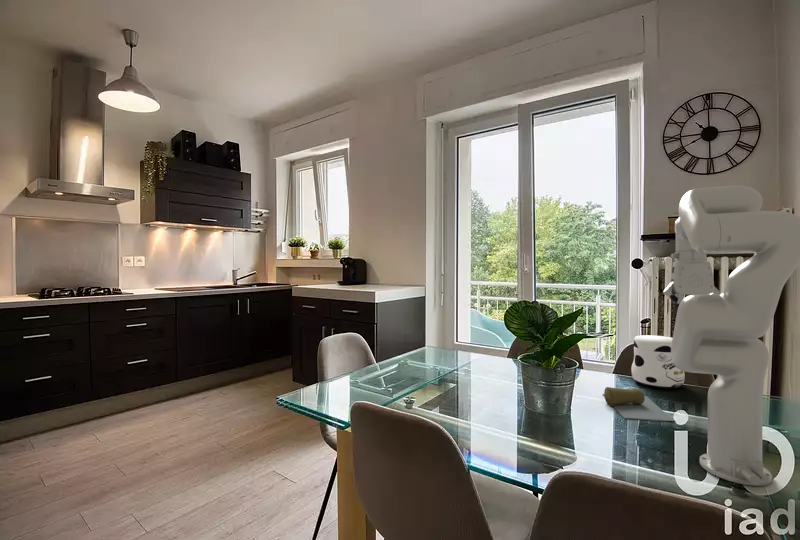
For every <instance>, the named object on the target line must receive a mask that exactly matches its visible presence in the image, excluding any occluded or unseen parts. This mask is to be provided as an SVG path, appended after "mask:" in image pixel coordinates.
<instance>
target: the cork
mask: <svg viewBox="0 0 800 540" xmlns="http://www.w3.org/2000/svg"><path fill="white" fill-rule="evenodd" d="M603 392H604V393H603V394H604V396H605V397H604V396H603V397H604V400H605V403H606V405H607V406H609V407H613V405H621V404H628V403H634V404H637V405H640V404H642V403H643V402H644V399H645V397H644V396H645V393H644V391H642V390H641V389H639V388H636V387H635V388H631V389H624V388H619V387H617V388H616V387H611V386H610V387H609V386H607V387H605V389H604V391H603Z"/></svg>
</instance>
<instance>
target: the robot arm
mask: <svg viewBox="0 0 800 540" xmlns="http://www.w3.org/2000/svg"><path fill="white" fill-rule="evenodd" d="M763 201H764V200H763V196H762V195H761V193H760V192H759V191H758V190H756V189H755V188H753V187H751V186H746V185H725V186H724V185H723V186H713V187H712V186H711V187H710V186H709V187H698V188H693V189H691V190H688V191H687V192H686V193H685V194H684V195H683V196H682V197H681V199H680V201H679V205H678V218H677V219H676V220H675V222H674V233H675V251H674V253H671V254H670V258H671V259H674V260H675V261H673V263H672V266H671V270H670V271H671V272H670V280H669V284H668V285H667V287H666V288H664V290H663V291H662V294H663V295H665V296H666V297H667V298H669V299H670V300H671V301H672V302H673V303H674V312H675V314H676V316H675V323H674V329H673V334H672V338H673V339H672V345H671V358H672V361H673V363H674V365H675V366H676V367H677V368H678V369H680V370H682V371H684V373H685V372H687V373H693V374H708V375H717V377H716V379H714V381H713V382H712V383H711V384H710V386H709V388H708V392H707V453H704V454H702V455H700V456H699V464H700V466H701V467H702V468H703V469H704V470H706V472H708V473H710V474H711V475H713V476H715V475H716V477H718V478H721V479H722V480H725V481H729V482H733V483H736V484H740V485H744V486H751V487H761V486H762V487H763V486H768V485H770V484H772V482H773V475H772V473H771V472H770V470H768V469H767V468H766V467H764V463H763V409H764V408H763V402H764V399H763V398H764V397H763V396H764V384H765V378H766V374H767V370H768V365H769V360H770V357H769V356H770V354H769V353H770V352H769V350H768V347H767V345H766V344H765V343H764V342H763V340H762V339H759V338H762V337H764V335H766V334H767V332H768V331H769V329H770V326H771V324H772V323H773V322H772V321H773V319H774V316H775V313H776V311H777V307H778V304H779V300H780V297H781V294H782V291H783V289H784V286H785V284H786V283H787V281H788V280H789V278H790V277H791V276H792V274H793V272H795V270H796V268H797V267H798V266H799V264H800V216H798V215H797V214H794V213H791V212H787V211H779V210H761V209H762V207H763ZM721 254H722V255H725V254H729V255H730V254H753V256H751V257H750V258H748V259H747V260H745V261H744V262H742V263H741V264H739V265H737V267H736V268H735V269H733V271H731V273H730V274H729V276H728V277H727V280H726V284H725V288H724V291H723V292H722V293H721V291H720V290H718V288H717V287H716V286H715V283H714V282H715V281H714V275H713V274H714V273H713V268H712V264H711V261H708V260H707V257H708V256H707V255H721ZM685 295H686V297H685Z"/></svg>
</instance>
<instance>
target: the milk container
mask: <svg viewBox="0 0 800 540" xmlns="http://www.w3.org/2000/svg"><path fill="white" fill-rule="evenodd" d="M672 339H673V337H672V336H671V337H670V336H663V335H656V334H655V335H652V334H651V335H648V334H647V335H641V334H640V335H635V336H634V339H633V361H632V364H631V368H630V370H631V377H632V379H633V380H634V381H635V382H637V383H638V384H640V385H644V386H646V387H650V388H651V387H652V388H657V389H677V388H680V387H682V386H683V385H684V382H685V379H686V378H685V376H686V375H685V371H682V370H680V369H678V368H677V367H676V366H675V365H674V363H673V361H672V358H671V345H672Z"/></svg>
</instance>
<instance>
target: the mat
mask: <svg viewBox="0 0 800 540" xmlns="http://www.w3.org/2000/svg"><path fill="white" fill-rule="evenodd" d="M602 396H603V397H604V398H605V396H604V393H602ZM644 397H645V399H644V402H643V403H642V404H640V405H637V404H634V403H628V404H621V405H613V406H612V407H613V408H614V410H616V412H617V413H618V414H619V415H620V417H622V419H624V420H635V421H636V420H637V421H639V420H640V421H652V422H653V421H654V422H665V421H672V422H671V423H676V420H675V419H674V418H673V417H671V415H669V414H668V413H667V412H665V411H664V410H663V409H662V408H661V407H659V406H658V405H657V404H656V403H654V401H652V400H651V399H650V398H649V397H647V396H646V395H644ZM673 421H674V422H673Z"/></svg>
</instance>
